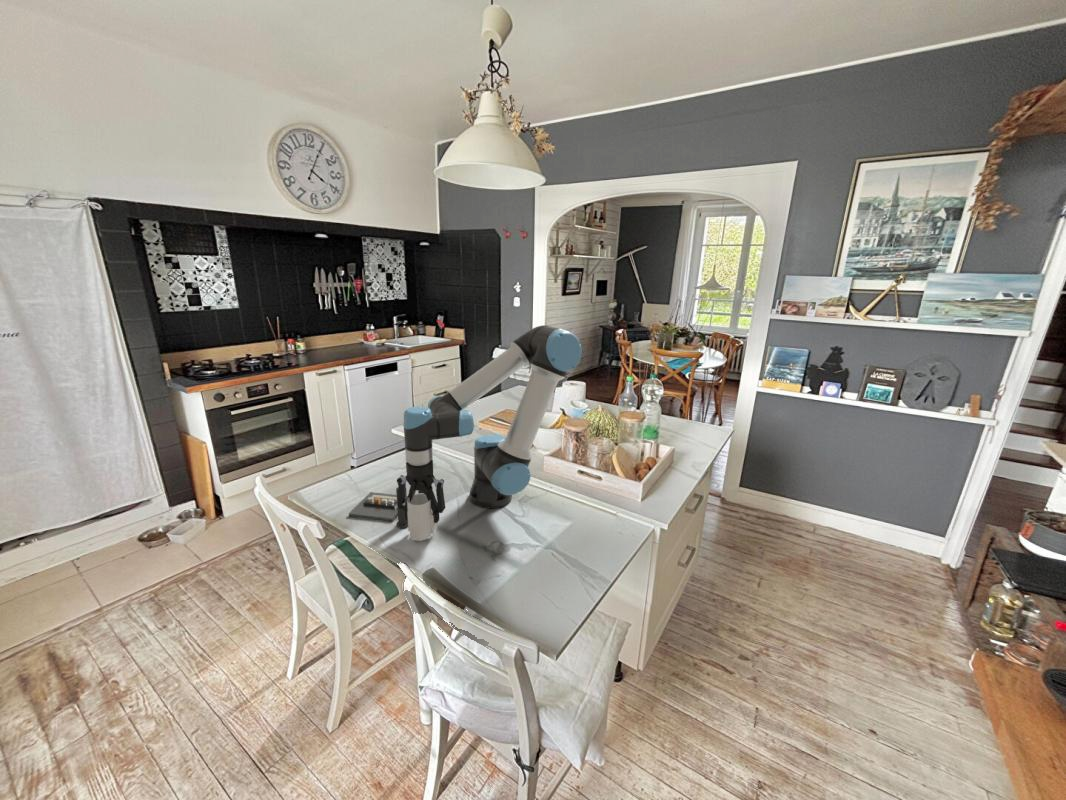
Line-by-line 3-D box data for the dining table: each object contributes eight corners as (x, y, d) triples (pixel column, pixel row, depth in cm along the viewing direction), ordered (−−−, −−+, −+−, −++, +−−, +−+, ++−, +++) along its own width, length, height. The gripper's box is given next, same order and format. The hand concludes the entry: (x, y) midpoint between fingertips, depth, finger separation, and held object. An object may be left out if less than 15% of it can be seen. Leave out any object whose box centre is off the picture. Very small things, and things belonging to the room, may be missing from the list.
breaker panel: (411, 499, 148) (410, 491, 147) (392, 521, 134) (392, 512, 133) (370, 495, 150) (370, 487, 149) (348, 516, 136) (348, 507, 135)
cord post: (412, 522, 135) (410, 486, 131) (406, 529, 131) (404, 492, 127) (400, 520, 135) (397, 484, 131) (394, 527, 131) (392, 491, 128)
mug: (421, 544, 122) (419, 507, 119) (404, 537, 125) (401, 501, 122) (444, 526, 131) (443, 492, 127) (427, 520, 134) (425, 486, 130)
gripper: (456, 457, 123) (457, 526, 130) (393, 452, 126) (397, 519, 132) (447, 469, 116) (449, 540, 123) (381, 462, 119) (386, 533, 125)
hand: (422, 529), depth 128 cm, fingers closed on mug, 6 cm apart
